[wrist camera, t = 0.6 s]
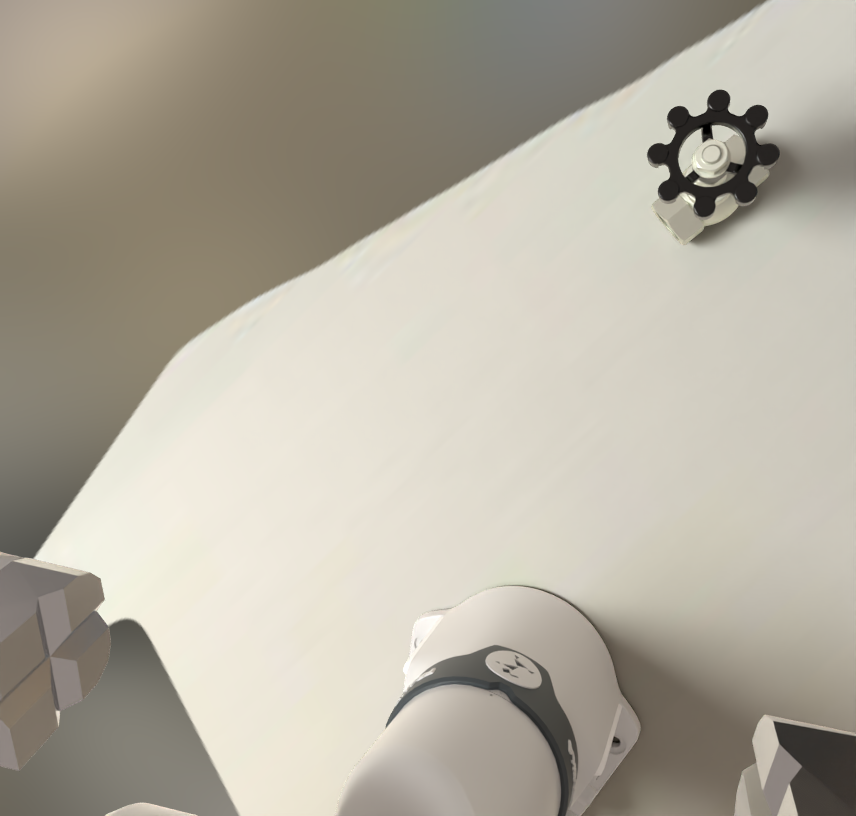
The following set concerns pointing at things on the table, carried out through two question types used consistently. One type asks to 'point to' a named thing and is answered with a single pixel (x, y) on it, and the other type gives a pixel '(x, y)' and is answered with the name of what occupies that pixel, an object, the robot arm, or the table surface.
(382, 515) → the table surface
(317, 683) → the table surface
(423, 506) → the table surface
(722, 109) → the valve
